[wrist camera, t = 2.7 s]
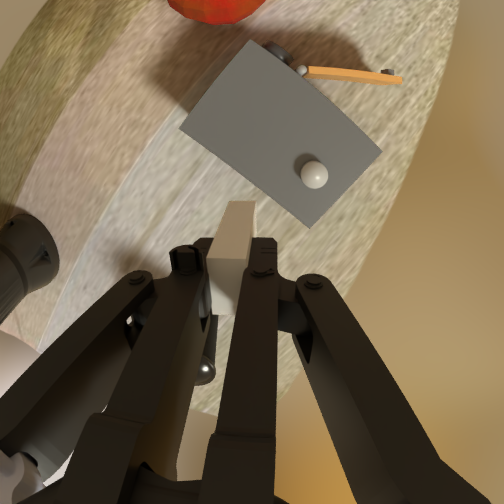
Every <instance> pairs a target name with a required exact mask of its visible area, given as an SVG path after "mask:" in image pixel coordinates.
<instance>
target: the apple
mask: <svg viewBox="0 0 504 504" xmlns="http://www.w3.org/2000/svg"><path fill="white" fill-rule="evenodd" d="M167 1H168V3H169V5H170V7H172V8H173V9H175V10H176V11H177V12H179V13H180V14H181V15H183V16H184V17H185V18H189V19H193V20H197V21H201V22H205V23H209V24H212V25H221V24H235V23H236V22H238V21H240V20H242V19H244V18H246V17H247V16H249V15H251V14H252V13H253V12H254V11H255V10H256V9H258V8H259V7H260V6H261V5H262V4H263V3H264V2H265V0H167Z"/></svg>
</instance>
